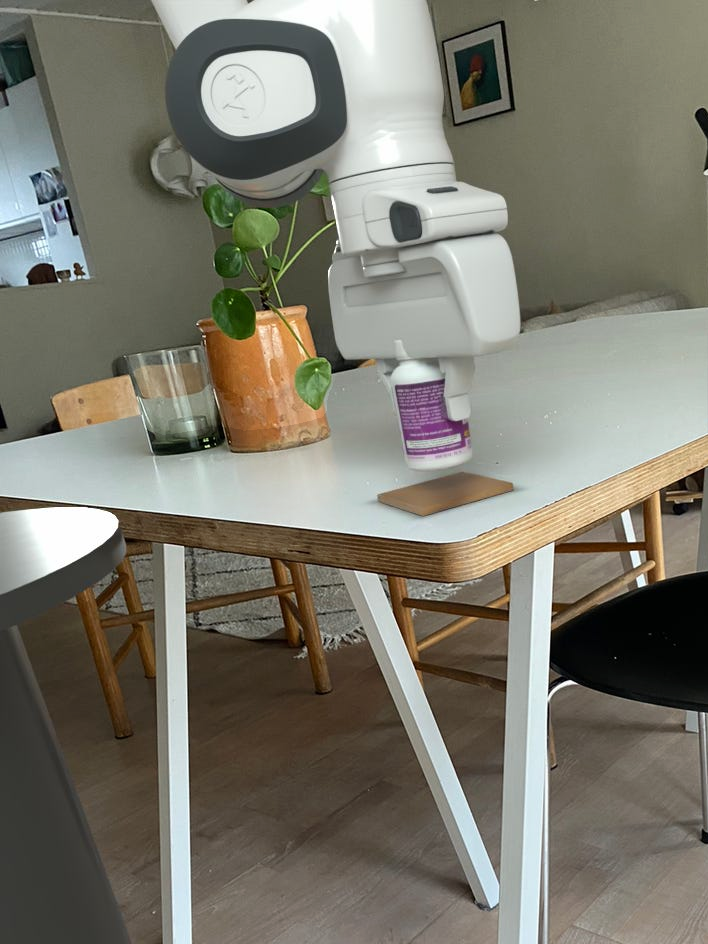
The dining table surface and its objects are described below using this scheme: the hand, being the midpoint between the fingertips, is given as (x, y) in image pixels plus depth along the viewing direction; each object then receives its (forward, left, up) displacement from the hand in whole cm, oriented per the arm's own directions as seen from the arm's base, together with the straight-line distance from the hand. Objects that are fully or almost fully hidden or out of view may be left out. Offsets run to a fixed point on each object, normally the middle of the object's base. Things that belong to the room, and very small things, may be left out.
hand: (432, 417), depth 71 cm
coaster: (0, 0, -6) cm, 6 cm away
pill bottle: (0, 0, -4) cm, 4 cm away
